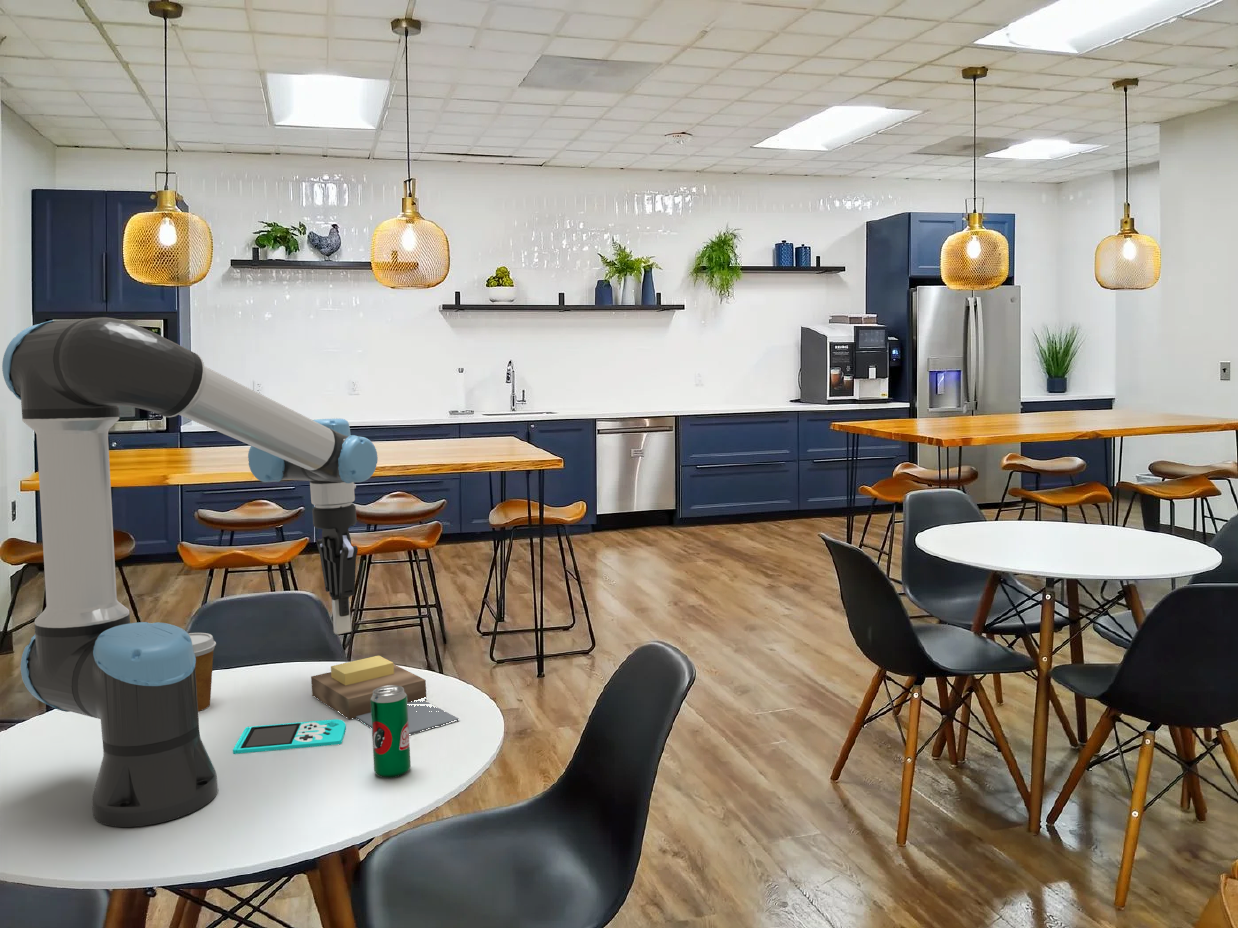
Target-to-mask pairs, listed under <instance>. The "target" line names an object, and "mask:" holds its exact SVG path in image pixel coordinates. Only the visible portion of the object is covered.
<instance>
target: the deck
mask: <svg viewBox="0 0 1238 928" xmlns="http://www.w3.org/2000/svg"><path fill="white" fill-rule="evenodd" d="M310 681H311V696H312V697H313V696H315V697H316V698H318V699H319V700H318V699H317V700H318V701H319V702H321V701H322V702H321V703H323V704H324V703H325V704H324V705H326V704H327V705H328V707H329V706H330V707H331V709H332V708H333V709H332V710H334V711H335V710H336V711H335V712H337V711H339V712H340V713H341V714H343V715H344V716H345V718H346V717H347V718H346V719H348V720H349V719H351V720H353V719H352V718H355V719H356V716H359V715H363V714H367V713H370V712H371V704H370V699H371V697H372V695H373V691H374V690H375V689H377V688H379V687H383V686H389V685H396V686H401V687H403V688H404V692H405V693H406V695H407V703H408V702H411V701H414V700H418V699H421V698H424V697H426V698H427V681H426V679H424V678H422V677H420V676H419V675H417V674H415V673H413V672H411V671H409V670H406V669H405V668H402V667H400V666H398V665H396V664H394V674H391V675H387V676H383V677H379V678H375V679H370V680H366V681H362V682H358V683H354V684H350V685H344V684H342V683H340V682H339V681H337V680H335V679H334V678H332V677H331V671H330V672H324V673H320V674H317V675H312V676H310ZM315 697H314V698H315ZM316 698H315V699H316ZM327 705H326V706H327ZM330 707H329V708H330ZM340 713H339V714H340ZM341 714H340V715H341ZM343 715H342V716H343ZM344 716H343V717H344Z"/></svg>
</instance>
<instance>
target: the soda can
mask: <svg viewBox="0 0 1238 928" xmlns="http://www.w3.org/2000/svg"><path fill="white" fill-rule="evenodd" d="M370 704H371V722H372V729H371V738H372V753H373V755H372V756H373V770H374V773H375V774H376V775H377V776H378V777H379V778H384V779H393V778H398V777H401V776H403V775H405V774H407V773H408V771H409V770H410V769H411V765H412V764H411V748H410V735H409V724H408V705H407V695H406V693H405V692H404V688H403V687H401V686H396V685H389V686H383V687H379V688H377V689H375V690H374V691H373V695H372V697H371V699H370Z"/></svg>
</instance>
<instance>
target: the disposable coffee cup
mask: <svg viewBox="0 0 1238 928" xmlns="http://www.w3.org/2000/svg"><path fill="white" fill-rule="evenodd" d="M187 633H188V632H187ZM188 634H189V636H190V637H191V640H192V645H193V650H194V654H195V657H196V664H195V672H196V688H197V704H198V712H201V711H203V710H206V709H207V708H209V707H210V706H211V697H212V696H211V695H212V683H213V682H212V680H213V679H212V678H213V677H212V676H213V663H214V660H213V659H214V650H215V648H216V647H215V646H216V645H217V641H215V639H214V637H213V635H212V634H211V633H208V632H207V633H206V632H190V633H188Z"/></svg>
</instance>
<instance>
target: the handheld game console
mask: <svg viewBox="0 0 1238 928" xmlns="http://www.w3.org/2000/svg"><path fill="white" fill-rule="evenodd" d="M346 726H347V724H346V722H345V721H344V720H342V719H339V718H333V719H323V720H312V721H310V720H309V721H297V722H288V723H285V722H284V723H275V724H264V725H252V726H246V727H245V728H244V729H243V732H242V733H241V734H240V736H239V738H238V740H237V742H236V743H235V746H234V747H233V749H232V754H233V755H236V754H237V755H238V754H249V753H250V754H251V753H258V752H259V753H261V752H271V751H281V750H283V751H284V750H292V749H294V750H295V749H306V748H314V747H327V746H337V745H338V744H339V745H342V744H343V740H344V737H345V735H346V731H345V730H347V727H346ZM339 745H338V746H339Z"/></svg>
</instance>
